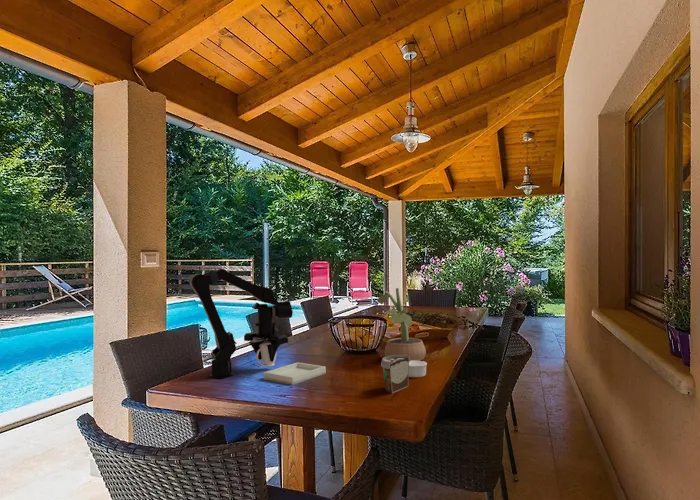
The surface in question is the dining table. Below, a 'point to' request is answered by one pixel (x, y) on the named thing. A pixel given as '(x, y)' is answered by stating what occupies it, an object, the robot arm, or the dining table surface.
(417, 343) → the potted plant
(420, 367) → the ramekin
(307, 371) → the tray
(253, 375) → the dining table surface
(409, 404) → the dining table surface
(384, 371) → the food container
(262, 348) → the cup
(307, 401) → the dining table surface
